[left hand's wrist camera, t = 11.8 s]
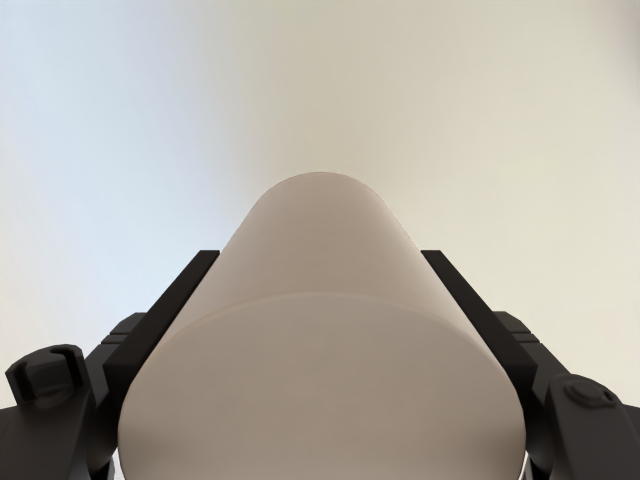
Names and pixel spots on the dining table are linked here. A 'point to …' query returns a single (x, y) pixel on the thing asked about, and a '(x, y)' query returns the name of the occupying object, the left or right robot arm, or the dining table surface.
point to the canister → (321, 358)
